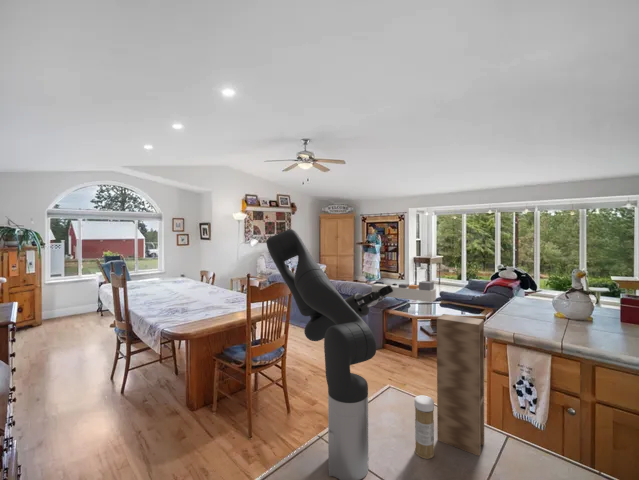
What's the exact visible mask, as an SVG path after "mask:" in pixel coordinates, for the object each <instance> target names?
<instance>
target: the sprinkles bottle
mask: <svg viewBox="0 0 639 480" xmlns="http://www.w3.org/2000/svg"><path fill="white" fill-rule="evenodd" d="M414 409H415V410H414V411H415V413H414V414H415V415H414V416H415V417H414V418H415V419H414V421H415V422H414V437H415V438H414V439H415V447H414V452H415V454H416V455H417V456H418V457H420V458H422V459H424V460H427V459H428V460H429V459H432V458H433V457H434V456H435V449H434V445H435V443H434V442H435V424H434V423H435V422H434V420H435V419H434V411H435V401H434V399H433V398H432V397H431V396H427V395H417V396H415V397H414Z"/></svg>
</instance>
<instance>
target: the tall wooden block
mask: <svg viewBox="0 0 639 480" xmlns="http://www.w3.org/2000/svg"><path fill="white" fill-rule="evenodd" d="M484 325H485V321H484V319H482V318H475V317H469V316H462V315H454V314H446V313H443V314H442V315H440V316H438V317H437V318H436V394H437V395H436V402H437V405H436V407H437V410H436V411H437V413H436V415H437V420H436V421H437V427H436V428H437V429H436V430H437V437H436V438H437V441H439V442H441V443H443V444H446V445H449V446H452V447H454V448H457V449H458V450H459V449H460V450H462V451H465V452H467V453H470V454H473V455H475V456H477V457H480V456H481V446H484V445H485V338H484V337H485V331H484V330H485V326H484Z"/></svg>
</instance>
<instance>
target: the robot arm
mask: <svg viewBox="0 0 639 480" xmlns="http://www.w3.org/2000/svg"><path fill="white" fill-rule="evenodd" d="M266 247H267V248H266V249H267V251H268V253H269V255H270V258H271V259H272V261H273V263H274V265H275V266H276V268H277V270H278V272H279V273H280V276H281V277H282V279H283V281H284V283H285V284H286V286H287V288H288V289H289V291H290V293H291V295H292V296H293V297H292V298H294V301H295V304H296V306H297V309H298V310H299V313H300V314H301V315H302V317H303V316H304V317H310V319H309V320H308V321H307V323H306V325H305V327H304V331H303V332H304V336H305V337H306V339H308V341H311V342H319V341H322V340H323V342H324V343H323V347H324V348H323V350H324V366H325V367H324V368H325V378H326V382H327V384H326V385H327V392H328V394H327V395H328V397H327V399H328V400H327V403H328V406H327V407H328V410H327V411H328V413H327V414H328V417H327V419H328V424H327V425H328V427H327V428H328V431H327V434H328V435H327V436H328V441H327V443H328V450H327V451H328V476H329V477H334V478H337V479H338V480H362V479H363V478H365V477H366V476H367V474H368V473H369V462H370V461H369V460H370V459H369V458H370V457H369V383H368V381H367V379H365V377H363V376H361V375H359V374H356V373H354V372H351V366H353V365H356V364H357V365H358V364H360V363H364V362H367V361H369V360H371V359H373V358H374V357H375V355H376V353H377V341H376V338H375V335H374V334H373V331H372V330H371V328H370V327H369V325H368V324H367V322H365V321H364V319H363V318H364V317H366V316H368V314H369V313H370V307H373V306H375V305H377V303H379V302H382V301H384V300H385V298H387V297H386V296H385V295H387V294H389V293H391V292H393V289H392V287H391V285H397V286H398V284H397V283H396V282H394V283H392V284H386V285H387V286H386V287H384V288H382V289H380V290H376V291H375V292H372V291H370V292H367V293H366V294H361V293H358V292H357V293H354V294H352V295H350V296H349V297H347V298H345V299H344V296H342V294H340V292H339V291H338V290H337V288H336V287H335V285H334V284H333V283H332V281H331V280H330V278H329V277H328V275H327V274H326V273H325V272H324V270H323V269H322V268H321V266H320V265H319V264H318V263H317V261H316V260H315V259H314V257H313V256H312V254H310V251H309V250H308V249H307V247H306V244H305V243H304V242H303V239H301V237H300V235H299V234H298V232H297V231H296V230H294V229H291V228H290V229H286V230H284V231H281V232H279V233H277V234H274V235H273V236H270V237H269V238H267V239H266ZM296 257H297V258H298V259H297V264H296V267H295V268H296V269H295V273H294V272H292V270H290V269H289V267H288V266H287V264H286V262H287V261H288V260H291V259H293V258H296Z"/></svg>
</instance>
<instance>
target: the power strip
mask: <svg viewBox="0 0 639 480" xmlns="http://www.w3.org/2000/svg"><path fill="white" fill-rule="evenodd" d="M387 285H388V284H384V283H375V284H371V292H375V291H376V290H380V289H382V288H384V287H386V286H387ZM390 285H391V287H392V289H393V292H391V293H389V294H387V295H385V296H386V298H387V297H388V298H395V299H403V300H410V301H411V300H412V301H419V302H420V301H421V302H426V303H427V302H429V303H433V302H435V301H436V299H437V294H436V293H437V292H436V291H437V289H436V288H434V287H435V286H434V285H435V282H434V281H425V280H422V281H419V282H418V284H409V283H399V284H397V285H392V284H390Z"/></svg>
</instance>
